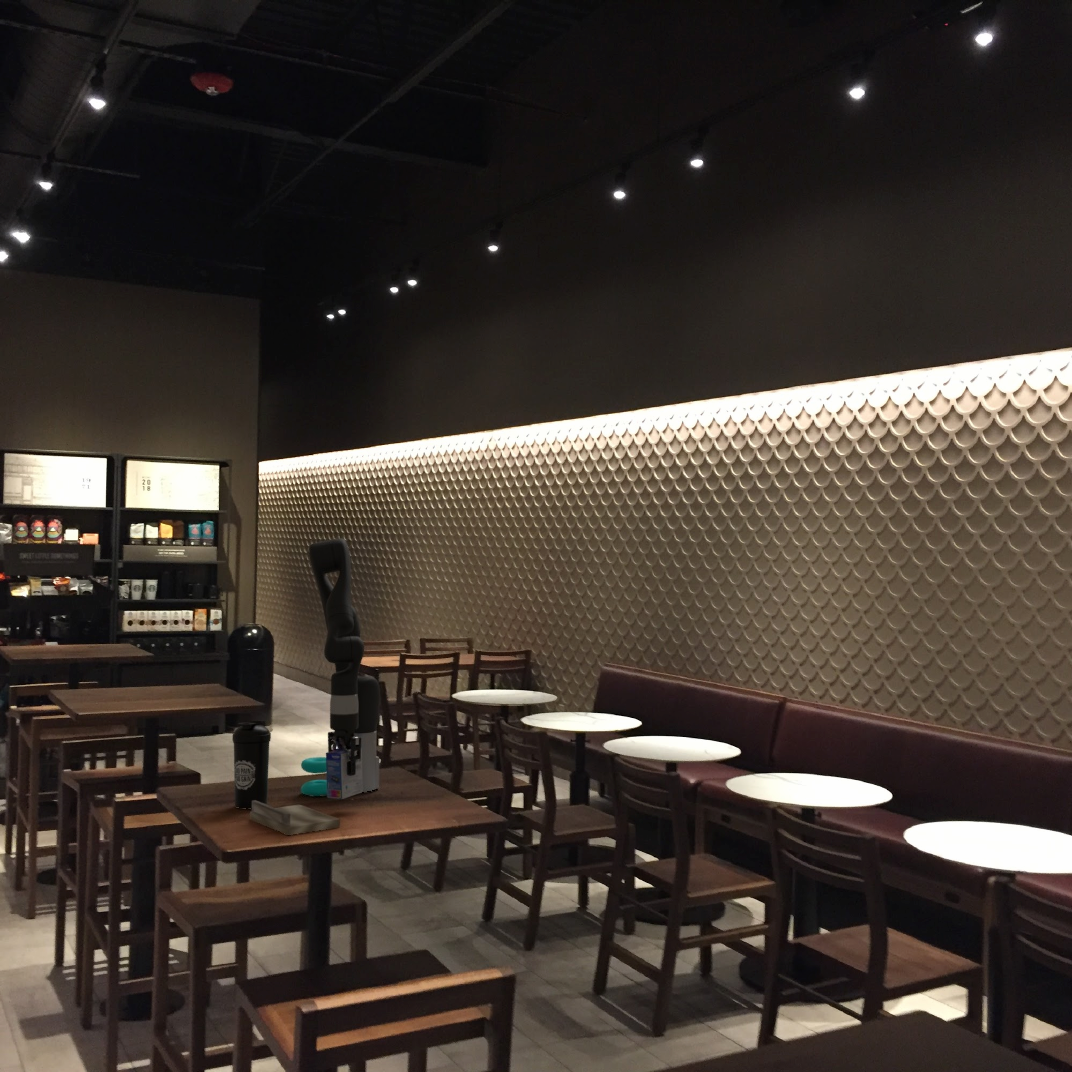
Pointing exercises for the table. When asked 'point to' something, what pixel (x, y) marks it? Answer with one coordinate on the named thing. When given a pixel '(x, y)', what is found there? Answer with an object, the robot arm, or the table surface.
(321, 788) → the donuts
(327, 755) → the ink cartridge box
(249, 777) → the water bottle
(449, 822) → the table surface
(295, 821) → the shelf board
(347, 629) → the robot arm
